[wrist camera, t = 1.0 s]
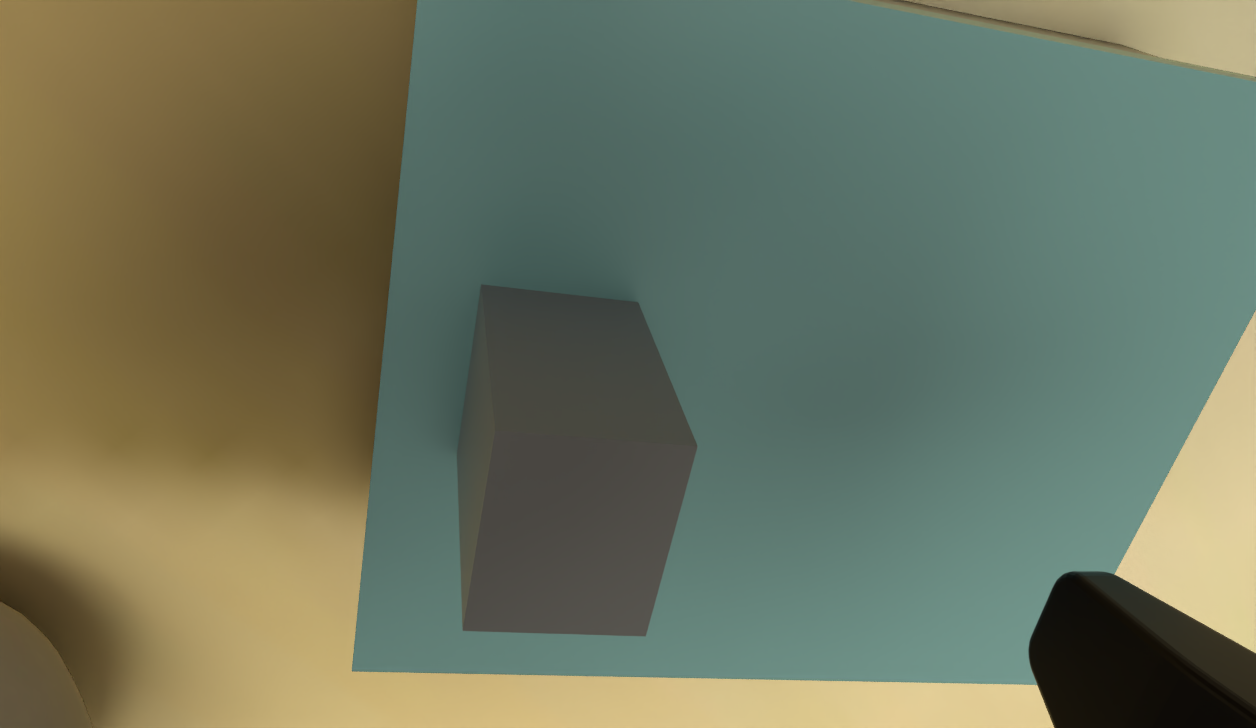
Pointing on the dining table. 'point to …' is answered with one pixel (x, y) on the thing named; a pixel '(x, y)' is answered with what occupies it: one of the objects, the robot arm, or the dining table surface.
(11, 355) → the dining table surface
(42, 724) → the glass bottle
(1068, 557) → the lid
